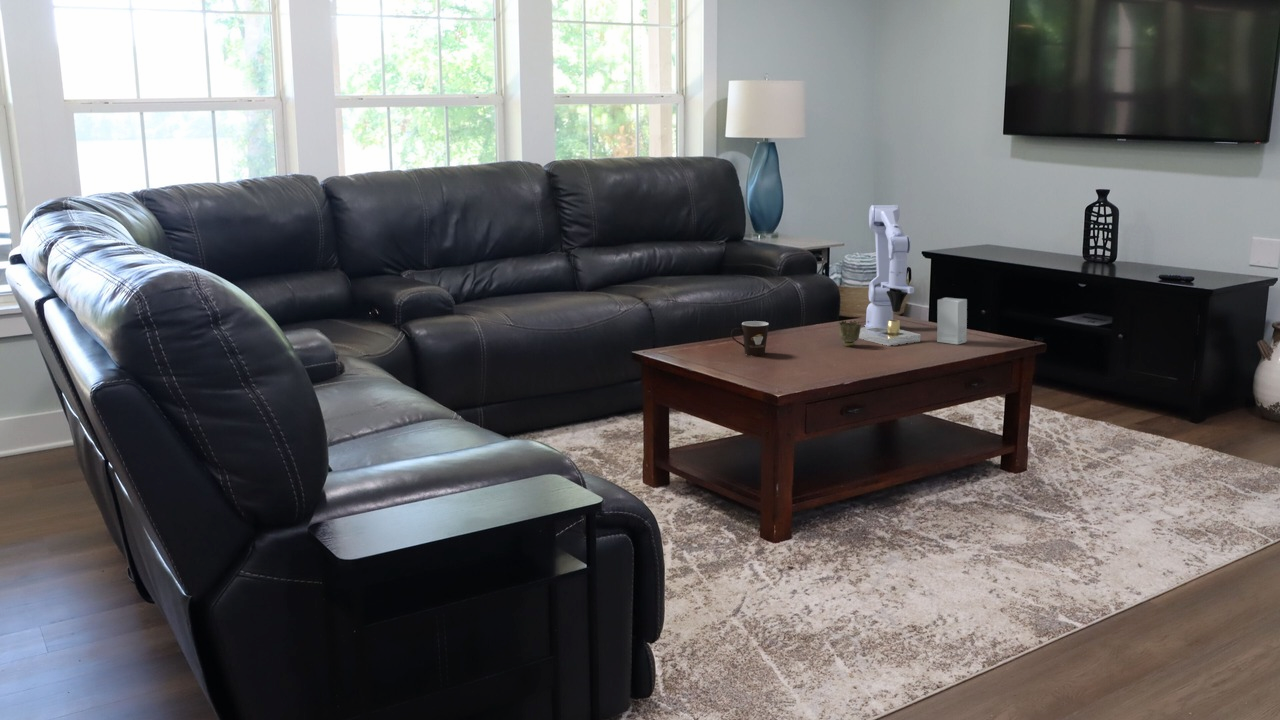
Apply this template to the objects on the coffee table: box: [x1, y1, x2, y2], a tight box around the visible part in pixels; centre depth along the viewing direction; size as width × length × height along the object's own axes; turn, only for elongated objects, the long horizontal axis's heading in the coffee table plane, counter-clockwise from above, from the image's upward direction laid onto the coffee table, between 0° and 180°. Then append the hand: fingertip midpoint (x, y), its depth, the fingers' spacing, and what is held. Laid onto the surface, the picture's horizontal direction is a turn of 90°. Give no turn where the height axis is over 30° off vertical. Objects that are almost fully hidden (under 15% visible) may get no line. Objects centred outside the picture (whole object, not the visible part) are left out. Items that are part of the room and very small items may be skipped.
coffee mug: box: [730, 320, 769, 357], centre depth 353 cm, size 12×9×10 cm
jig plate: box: [858, 325, 922, 347], centre depth 375 cm, size 20×14×2 cm
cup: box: [838, 320, 862, 348], centre depth 364 cm, size 8×7×8 cm
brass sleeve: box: [887, 319, 901, 336], centre depth 371 cm, size 4×4×7 cm
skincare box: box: [936, 297, 968, 345], centre depth 367 cm, size 8×6×15 cm
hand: (896, 311), depth 373 cm, fingers closed
